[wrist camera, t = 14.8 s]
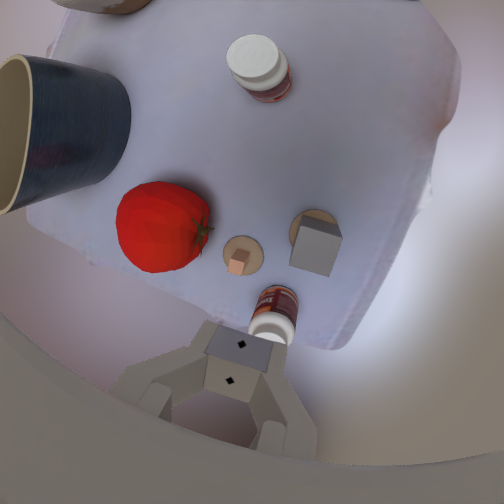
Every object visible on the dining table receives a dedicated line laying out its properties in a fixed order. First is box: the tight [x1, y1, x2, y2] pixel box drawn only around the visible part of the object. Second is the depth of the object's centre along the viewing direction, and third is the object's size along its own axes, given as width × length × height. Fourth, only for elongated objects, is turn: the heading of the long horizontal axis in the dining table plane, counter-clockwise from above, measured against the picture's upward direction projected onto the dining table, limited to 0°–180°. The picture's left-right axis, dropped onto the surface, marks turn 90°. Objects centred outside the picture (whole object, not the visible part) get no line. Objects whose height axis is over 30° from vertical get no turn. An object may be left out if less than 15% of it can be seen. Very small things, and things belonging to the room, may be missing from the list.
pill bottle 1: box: [227, 34, 292, 102], centre depth 26 cm, size 6×6×11 cm
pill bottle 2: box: [248, 286, 298, 346], centre depth 37 cm, size 6×6×11 cm
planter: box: [0, 54, 131, 215], centre depth 29 cm, size 22×22×20 cm
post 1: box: [223, 236, 264, 276], centre depth 38 cm, size 6×6×4 cm
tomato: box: [116, 181, 214, 273], centre depth 35 cm, size 13×13×13 cm
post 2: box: [289, 210, 337, 247], centre depth 34 cm, size 7×7×6 cm
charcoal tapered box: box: [289, 214, 343, 277], centre depth 33 cm, size 5×5×6 cm
